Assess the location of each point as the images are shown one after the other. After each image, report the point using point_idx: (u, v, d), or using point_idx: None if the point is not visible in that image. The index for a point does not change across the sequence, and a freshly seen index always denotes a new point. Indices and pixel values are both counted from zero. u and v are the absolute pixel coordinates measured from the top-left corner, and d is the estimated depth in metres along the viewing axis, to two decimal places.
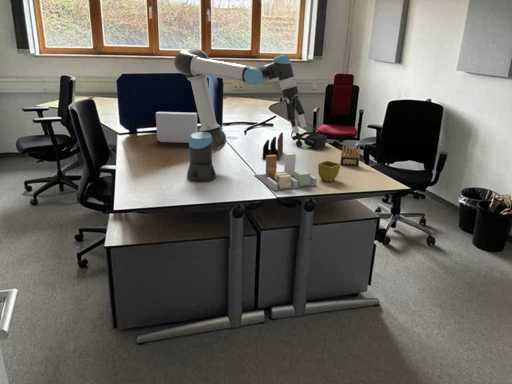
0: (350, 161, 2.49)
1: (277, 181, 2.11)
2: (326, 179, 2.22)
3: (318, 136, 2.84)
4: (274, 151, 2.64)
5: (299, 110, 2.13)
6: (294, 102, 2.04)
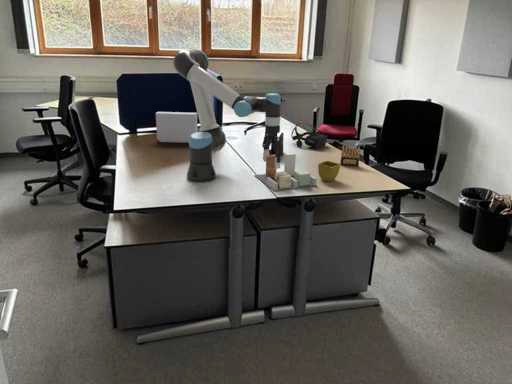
0: (350, 161, 2.49)
1: (277, 181, 2.11)
2: (326, 179, 2.22)
3: (318, 136, 2.84)
4: None
5: (268, 145, 2.24)
6: None
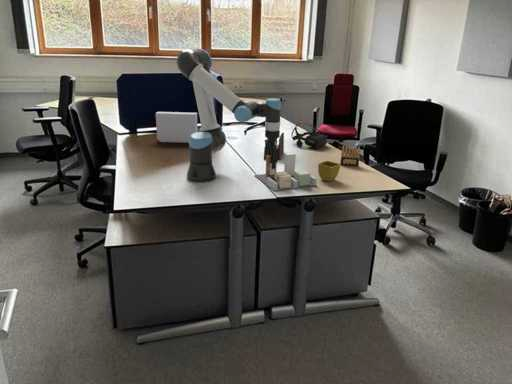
0: (350, 161, 2.49)
1: (277, 181, 2.11)
2: (326, 179, 2.22)
3: (318, 136, 2.84)
4: None
5: (271, 154, 2.22)
6: None
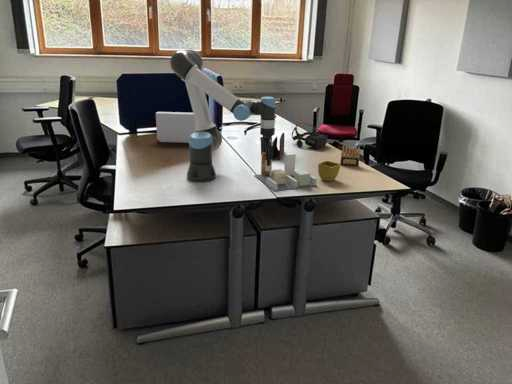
0: (350, 161, 2.49)
1: (272, 177, 2.16)
2: (326, 179, 2.22)
3: (319, 136, 2.83)
4: (276, 151, 2.64)
5: (266, 151, 2.27)
6: None
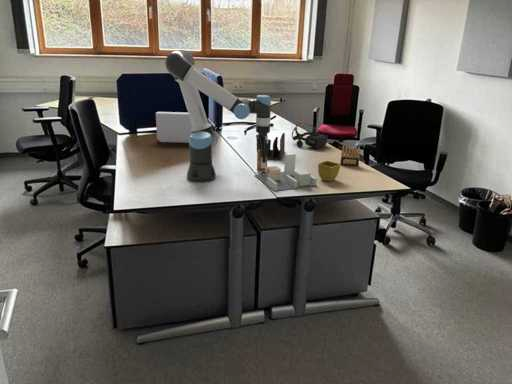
0: (350, 161, 2.49)
1: (267, 174, 2.21)
2: (326, 179, 2.22)
3: (319, 136, 2.83)
4: (276, 151, 2.63)
5: None
6: None
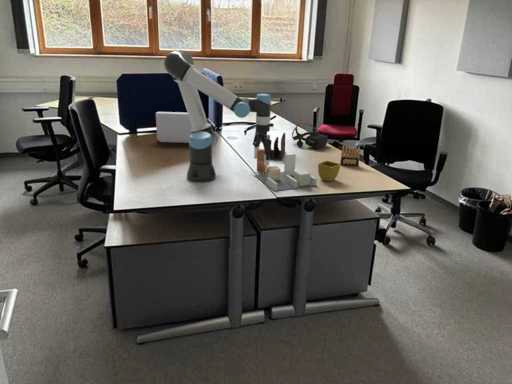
0: (350, 161, 2.49)
1: (267, 174, 2.21)
2: (326, 179, 2.22)
3: (319, 136, 2.83)
4: (277, 151, 2.63)
5: (258, 143, 2.35)
6: None
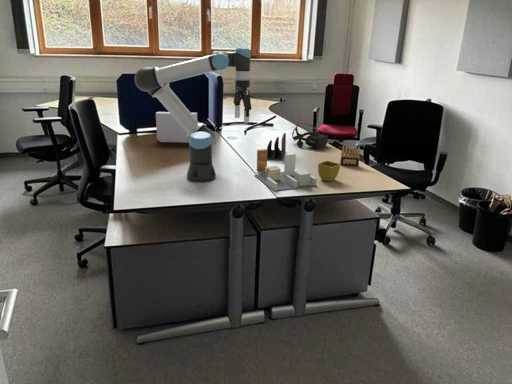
0: (350, 161, 2.49)
1: (267, 174, 2.21)
2: (326, 179, 2.22)
3: (319, 136, 2.83)
4: (277, 151, 2.63)
5: (239, 101, 2.28)
6: None
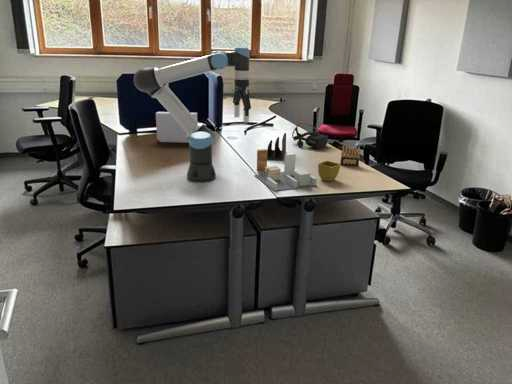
0: (350, 161, 2.49)
1: (267, 174, 2.21)
2: (326, 179, 2.22)
3: (319, 136, 2.83)
4: (278, 151, 2.63)
5: (238, 101, 2.28)
6: (246, 93, 2.20)
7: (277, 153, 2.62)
